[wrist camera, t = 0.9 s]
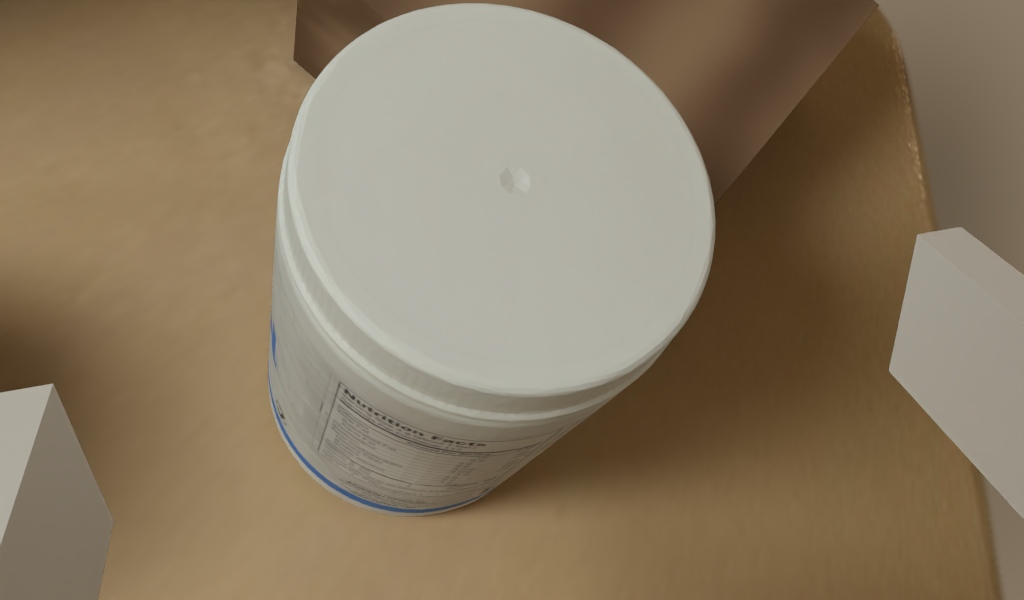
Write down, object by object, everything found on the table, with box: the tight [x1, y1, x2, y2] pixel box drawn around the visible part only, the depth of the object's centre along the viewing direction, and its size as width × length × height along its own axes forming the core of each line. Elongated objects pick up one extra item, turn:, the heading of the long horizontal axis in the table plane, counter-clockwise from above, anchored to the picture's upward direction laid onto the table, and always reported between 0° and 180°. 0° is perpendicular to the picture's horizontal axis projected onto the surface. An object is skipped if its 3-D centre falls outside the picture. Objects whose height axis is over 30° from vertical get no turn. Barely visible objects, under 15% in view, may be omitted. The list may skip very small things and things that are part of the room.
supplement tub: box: [268, 3, 716, 517], centre depth 26 cm, size 10×10×15 cm
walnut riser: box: [294, 0, 879, 206], centre depth 36 cm, size 16×16×6 cm
